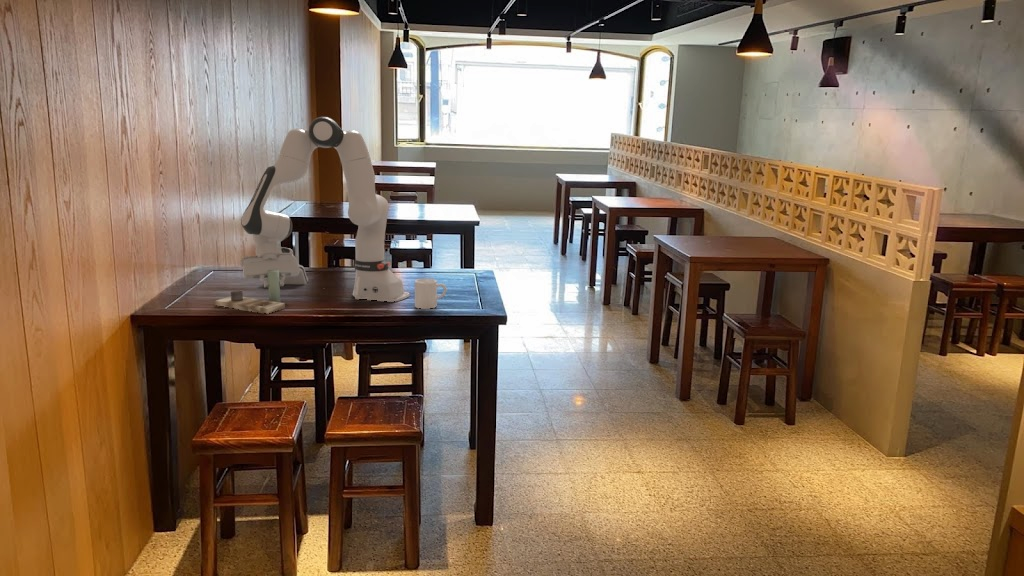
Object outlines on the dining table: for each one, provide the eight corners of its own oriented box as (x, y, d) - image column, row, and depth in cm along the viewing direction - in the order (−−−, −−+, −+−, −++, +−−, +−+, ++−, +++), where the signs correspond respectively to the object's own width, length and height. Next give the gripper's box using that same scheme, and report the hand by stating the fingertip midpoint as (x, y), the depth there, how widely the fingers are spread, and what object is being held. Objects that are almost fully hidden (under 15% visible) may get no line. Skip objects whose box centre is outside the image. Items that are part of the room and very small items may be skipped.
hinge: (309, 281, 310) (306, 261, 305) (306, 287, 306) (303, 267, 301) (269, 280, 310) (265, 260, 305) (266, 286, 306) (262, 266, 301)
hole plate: (284, 308, 267) (284, 295, 266) (267, 314, 259) (267, 300, 258) (233, 300, 276) (232, 287, 275) (215, 305, 268) (214, 292, 267)
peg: (282, 301, 276) (281, 270, 273) (275, 304, 272) (273, 272, 270) (274, 300, 277) (272, 269, 275) (266, 302, 274) (265, 271, 271)
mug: (445, 310, 270) (445, 284, 268) (413, 308, 271) (412, 282, 269) (448, 304, 278) (448, 279, 276) (417, 303, 279) (417, 278, 277)
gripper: (240, 252, 272) (245, 283, 266) (296, 249, 281) (302, 279, 275) (239, 261, 277) (244, 292, 271) (294, 258, 286) (301, 288, 280)
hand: (274, 285), depth 273 cm, fingers closed on peg, 4 cm apart
